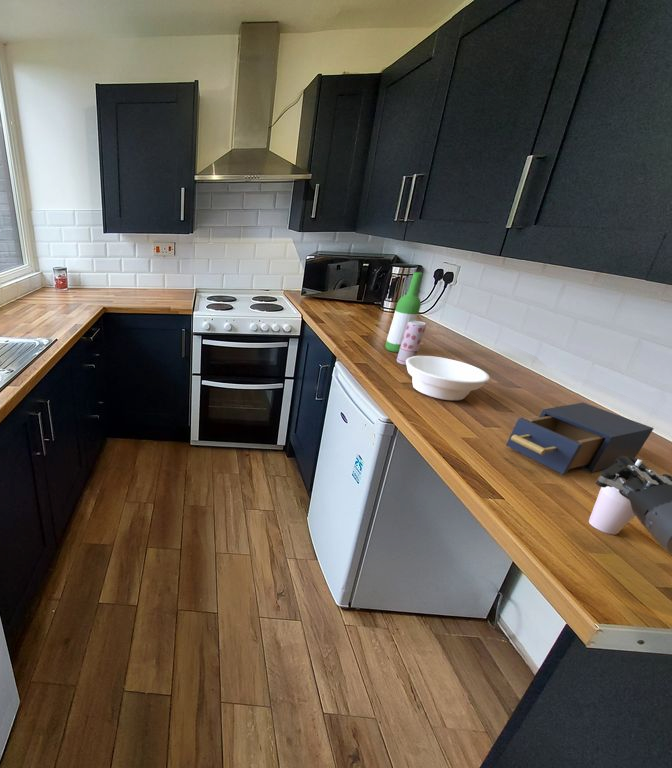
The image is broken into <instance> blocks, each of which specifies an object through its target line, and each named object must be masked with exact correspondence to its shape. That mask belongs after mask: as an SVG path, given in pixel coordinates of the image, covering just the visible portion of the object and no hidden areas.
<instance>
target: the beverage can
mask: <svg viewBox="0 0 672 768" xmlns="http://www.w3.org/2000/svg"><path fill="white" fill-rule="evenodd" d="M426 325H427V324H426V322H424V321H420V320H416V321H409V322H408V324H407V327H406V330H405V334H404V337H403V340H402V343H401V347H400V350H399V353H398V354H397V357H396V362H397V363H398V364H401V365H404V366H407V365H406V360H407V358H409V357H413V356H418V353H419V350H420V347H421V343H422V340H423V337H424V334H425V330H426V327H427V326H426Z"/></svg>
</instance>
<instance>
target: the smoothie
mask: <svg viewBox="0 0 672 768" xmlns="http://www.w3.org/2000/svg"><path fill="white" fill-rule="evenodd" d="M637 459H638V460H637V461H636V463H635V465H636V466H637V468H638V467H639V466H640V464H641V463H643V460H642V459H639V458H637ZM619 479H620V481H621V482H622V483H624V481H623V480H622V479H621V478H619ZM635 517H636V516H635V515H634V513H633V511H632V508H631V503H630V500H629V499H627V498H626V497H624V496H622V495H621V494H620V492H619V489H617V488H614V487H609V486H607V487H600V489H599V492H598V495H597V497H596V500H595V502H594V505H593V509H592V511H591V513H590V516H589V518H588V523H589V524H590V526H592V528H594V529H595V530H598V531H599V532H602V533H604V534H608V535H618V534H619V533H620V532H621V531H622V530H623V529H624V528H625V527H626V526H627V525H628V524H629V523H630V522H631V521H632V520H633V518H635Z"/></svg>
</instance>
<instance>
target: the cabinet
mask: <svg viewBox="0 0 672 768" xmlns="http://www.w3.org/2000/svg"><path fill="white" fill-rule="evenodd" d="M545 416H552V417H555V418H557V419H560V420H562V421H564V422H567V423H569V424H572V425H574V426H577V427H579V428H582V429H584V430H586V431H589V432H591V433H594V434H596V435H599V436H601V437H603V438H606V439H605V440H604V442H603V444H602V445H601V447H600V449H599V451H598V452H597V454H596V456H595V457H594V459H593V461H592V463H591V464H588V465H584V466H580V467H579V468H580V469H582V470H584V471H586V472H588V473H590V474H592V473H596V472H602V471H604V470H605V469H607V468H609V467H610V466H612V465H613V464H614V462H615V461H616V459H617V457H620V456H621V455H622V456H626V457H628V458H630V457H631V458H636V457H637V456H638V454H639V452H640V451H641V450H642V448H643V446H644V445H645V443H646V442H647V440H648V438H649V437H650V435H651V434H652V432H653V430H654V427H651V426H649V425H647V424H644V423H641V422H639V421H635V420H633V419H630V418H627V417H625V416H621V415H620V414H616V413H614V412H610V411H608V410H605V409H602V408H599V407H597V406H594V405H591V404H589V403H587V402H578V403H573V404H565V405H561V406H554V407H548V408H543V409H542V411H541V413H540V414H539V417H538V418H540V417H545Z"/></svg>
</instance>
